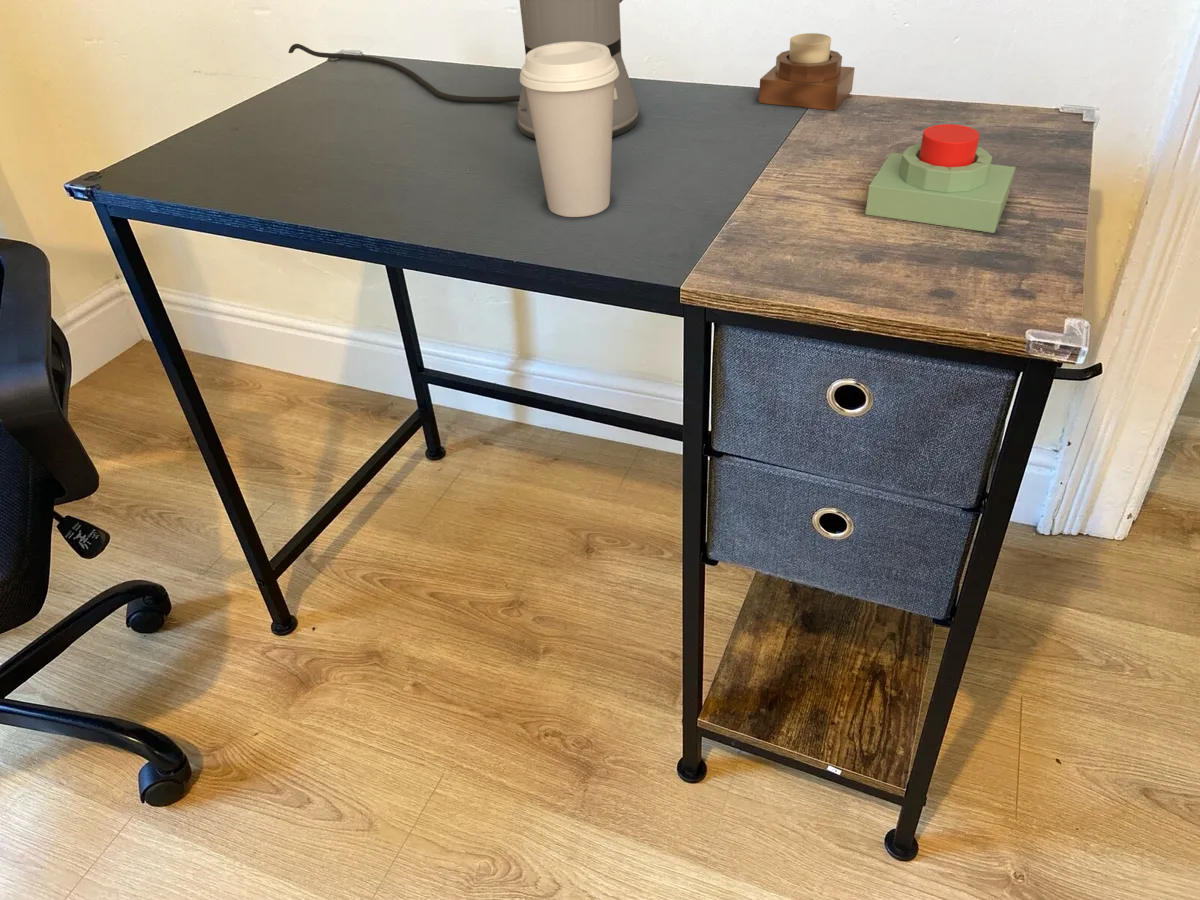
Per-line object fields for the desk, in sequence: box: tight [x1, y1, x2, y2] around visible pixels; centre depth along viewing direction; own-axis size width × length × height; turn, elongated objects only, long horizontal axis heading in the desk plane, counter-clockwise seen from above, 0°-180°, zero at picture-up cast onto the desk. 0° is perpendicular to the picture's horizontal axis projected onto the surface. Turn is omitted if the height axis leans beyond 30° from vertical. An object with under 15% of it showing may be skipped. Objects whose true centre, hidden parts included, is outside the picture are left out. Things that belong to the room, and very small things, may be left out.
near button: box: [919, 123, 980, 167], centre depth 83 cm, size 5×5×2 cm
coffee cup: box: [519, 41, 619, 218], centre depth 87 cm, size 10×10×15 cm
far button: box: [789, 32, 832, 63], centre depth 110 cm, size 5×5×2 cm
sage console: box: [864, 141, 1016, 234], centre depth 85 cm, size 12×9×5 cm
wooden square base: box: [758, 49, 855, 111], centre depth 113 cm, size 10×8×5 cm
